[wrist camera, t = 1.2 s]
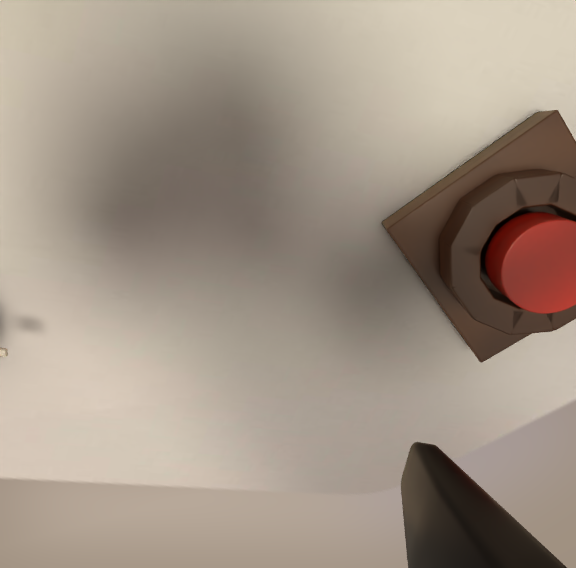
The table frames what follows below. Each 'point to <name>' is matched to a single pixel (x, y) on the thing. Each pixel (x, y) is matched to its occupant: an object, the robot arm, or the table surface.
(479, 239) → the button base
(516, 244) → the power button
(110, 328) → the table surface
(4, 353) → the control panel
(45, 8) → the table surface
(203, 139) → the table surface
